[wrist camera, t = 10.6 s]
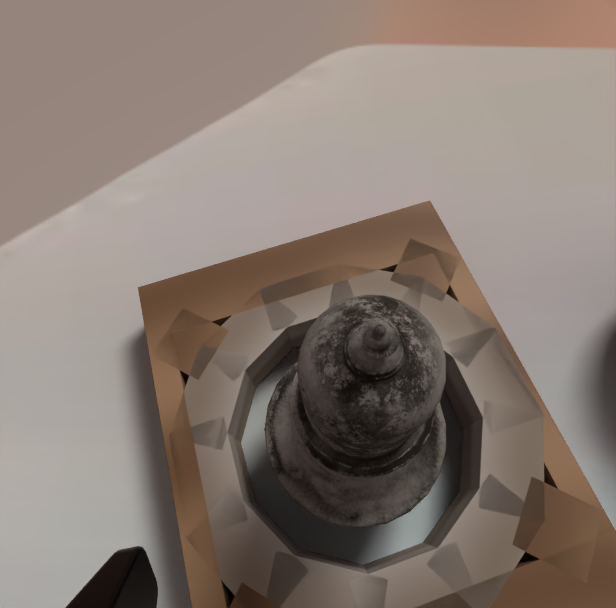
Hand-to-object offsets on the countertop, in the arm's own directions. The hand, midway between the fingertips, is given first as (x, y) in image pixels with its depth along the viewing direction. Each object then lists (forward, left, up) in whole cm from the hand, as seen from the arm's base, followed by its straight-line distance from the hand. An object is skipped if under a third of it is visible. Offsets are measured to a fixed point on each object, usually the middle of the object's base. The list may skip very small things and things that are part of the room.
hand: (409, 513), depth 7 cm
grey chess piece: (+3, 0, -10) cm, 10 cm away
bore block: (+3, 0, -10) cm, 10 cm away
